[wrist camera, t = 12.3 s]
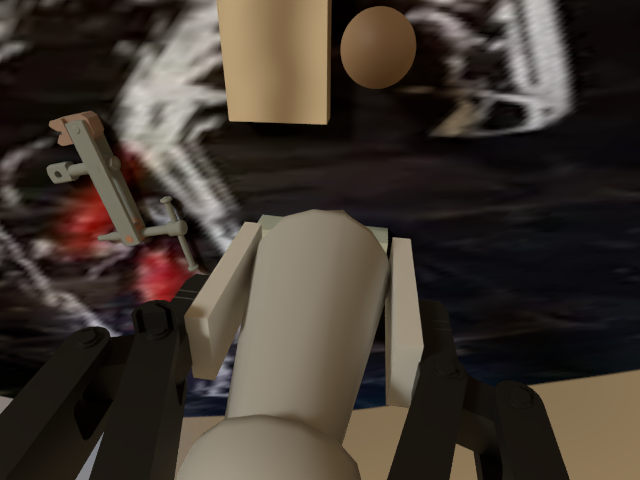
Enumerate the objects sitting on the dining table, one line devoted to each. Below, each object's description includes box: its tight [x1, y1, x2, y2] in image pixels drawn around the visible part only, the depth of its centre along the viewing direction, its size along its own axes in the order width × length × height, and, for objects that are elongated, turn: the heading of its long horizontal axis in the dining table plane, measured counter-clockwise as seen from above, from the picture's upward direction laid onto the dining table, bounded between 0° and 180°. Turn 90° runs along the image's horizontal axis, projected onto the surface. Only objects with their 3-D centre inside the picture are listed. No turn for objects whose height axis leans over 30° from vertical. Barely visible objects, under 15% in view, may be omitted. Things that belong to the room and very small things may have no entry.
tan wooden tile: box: [217, 0, 332, 125], centre depth 27 cm, size 7×10×2 cm
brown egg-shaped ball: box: [341, 6, 416, 89], centre depth 24 cm, size 4×4×6 cm
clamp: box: [47, 111, 199, 271], centre depth 35 cm, size 15×2×10 cm
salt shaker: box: [176, 209, 389, 480], centre depth 14 cm, size 6×6×13 cm
